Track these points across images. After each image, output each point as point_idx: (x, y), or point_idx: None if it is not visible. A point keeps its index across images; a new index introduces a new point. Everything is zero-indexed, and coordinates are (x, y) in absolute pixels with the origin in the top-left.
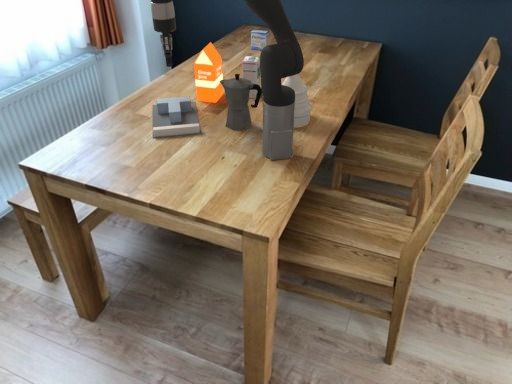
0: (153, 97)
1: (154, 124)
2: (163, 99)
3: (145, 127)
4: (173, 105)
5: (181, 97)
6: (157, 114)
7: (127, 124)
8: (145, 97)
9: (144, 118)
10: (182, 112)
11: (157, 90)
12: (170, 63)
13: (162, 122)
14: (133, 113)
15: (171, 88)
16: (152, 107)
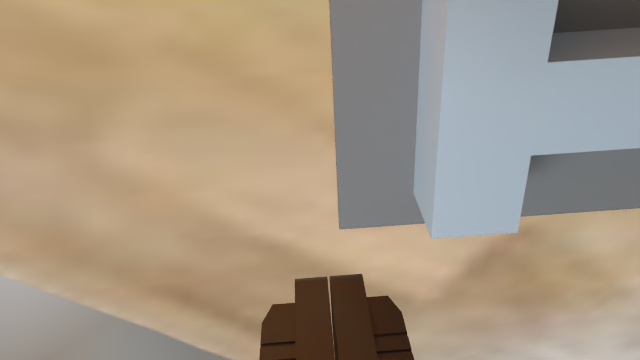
0: (201, 231)
1: (631, 198)
2: (454, 191)
3: (634, 239)
4: (603, 111)
5: (456, 44)
6: None
7: (556, 320)
8: (199, 274)
9: (514, 253)
10: None
11: (71, 215)
12: (403, 333)
13: (626, 155)
14: (427, 309)
15: (16, 119)
16: (376, 226)
